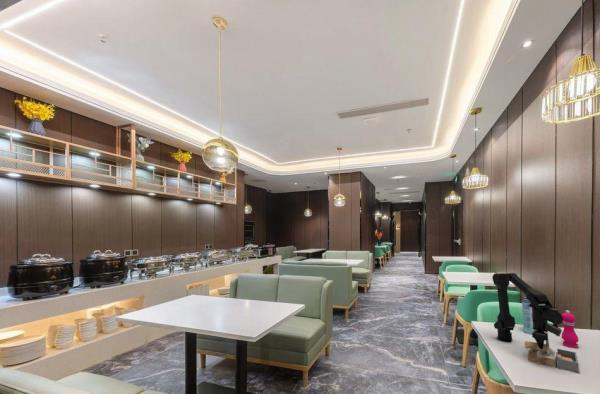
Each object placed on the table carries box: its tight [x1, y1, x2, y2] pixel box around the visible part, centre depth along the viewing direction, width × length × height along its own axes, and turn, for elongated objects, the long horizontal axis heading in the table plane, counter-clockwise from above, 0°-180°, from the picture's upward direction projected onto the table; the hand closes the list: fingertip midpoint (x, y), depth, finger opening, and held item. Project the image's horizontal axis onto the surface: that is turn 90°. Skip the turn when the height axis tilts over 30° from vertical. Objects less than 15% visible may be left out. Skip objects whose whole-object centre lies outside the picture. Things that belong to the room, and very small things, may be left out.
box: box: [555, 348, 580, 374], centre depth 144 cm, size 8×15×4 cm, turn 139°
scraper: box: [524, 340, 551, 356], centre depth 152 cm, size 10×12×4 cm
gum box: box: [521, 295, 546, 336], centre depth 189 cm, size 20×5×23 cm, turn 116°
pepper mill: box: [561, 309, 579, 349], centre depth 166 cm, size 7×7×20 cm
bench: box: [527, 347, 557, 368], centre depth 150 cm, size 11×14×4 cm
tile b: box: [561, 356, 573, 362], centre depth 146 cm, size 4×4×1 cm
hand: (541, 348), depth 150 cm, fingers closed on scraper, 2 cm apart
